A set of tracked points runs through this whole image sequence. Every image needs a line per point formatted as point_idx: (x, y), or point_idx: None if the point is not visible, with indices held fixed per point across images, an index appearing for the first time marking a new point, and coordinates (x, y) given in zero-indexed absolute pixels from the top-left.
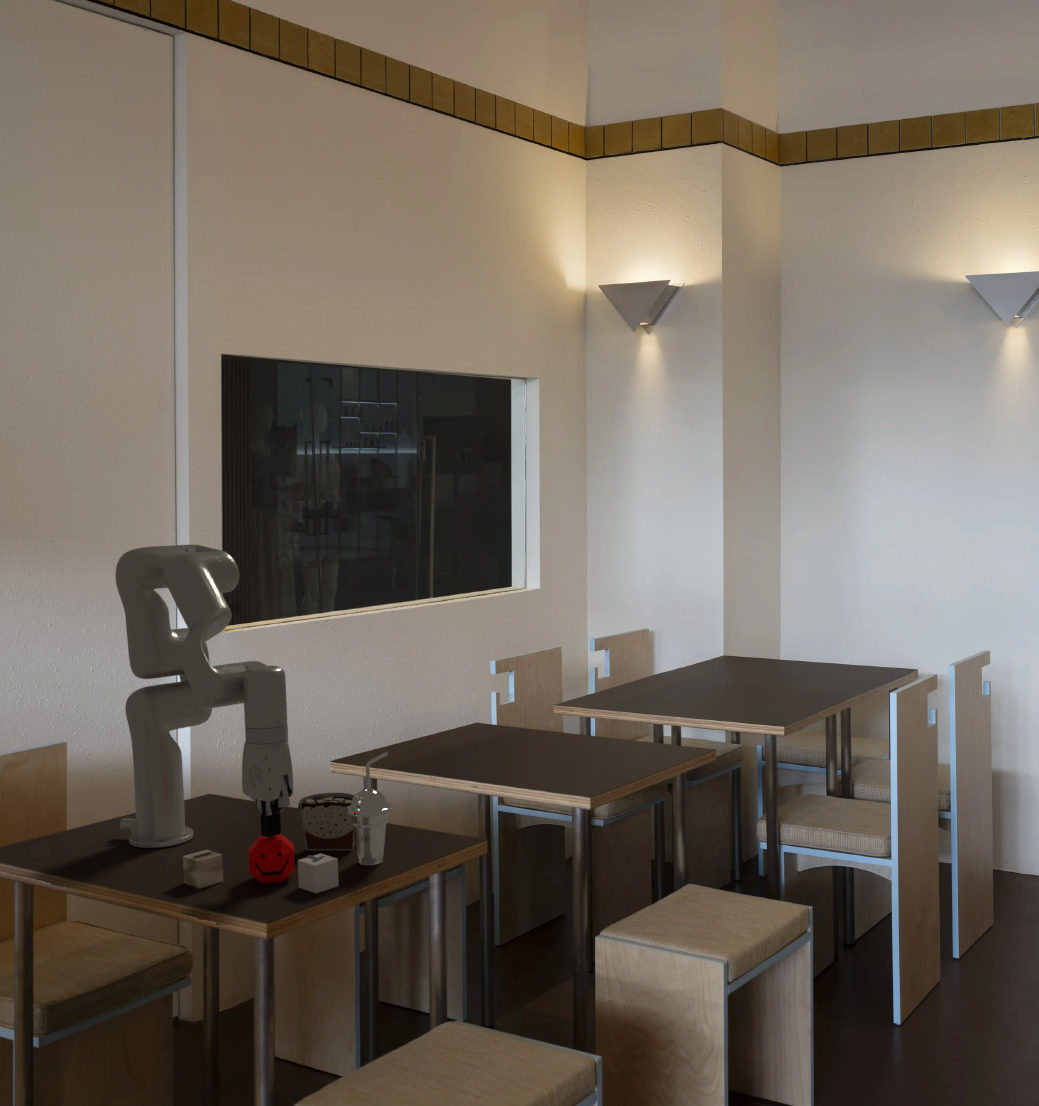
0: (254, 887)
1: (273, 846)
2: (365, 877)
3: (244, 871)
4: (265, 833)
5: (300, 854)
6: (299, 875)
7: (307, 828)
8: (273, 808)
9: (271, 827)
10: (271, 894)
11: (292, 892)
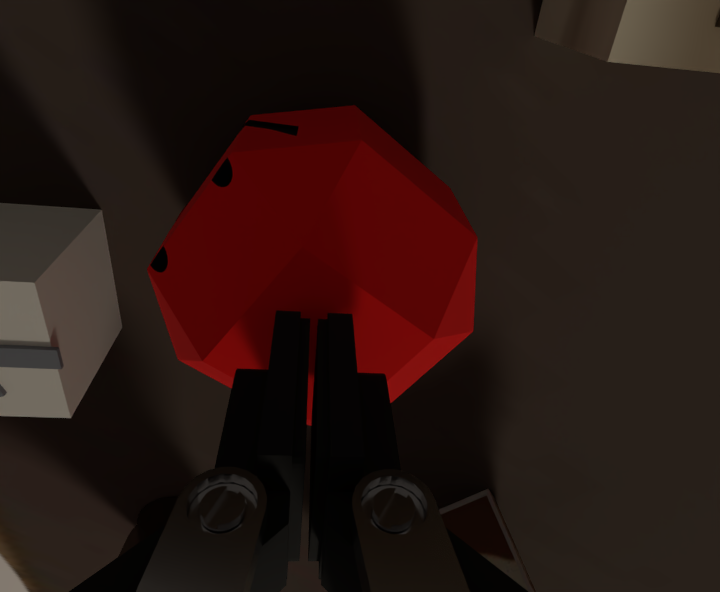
0: (289, 71)
1: (213, 281)
2: (24, 431)
3: (541, 215)
4: (284, 325)
5: (474, 457)
6: (63, 237)
7: (506, 572)
8: (126, 588)
9: (238, 392)
10: (98, 43)
11: (47, 139)
